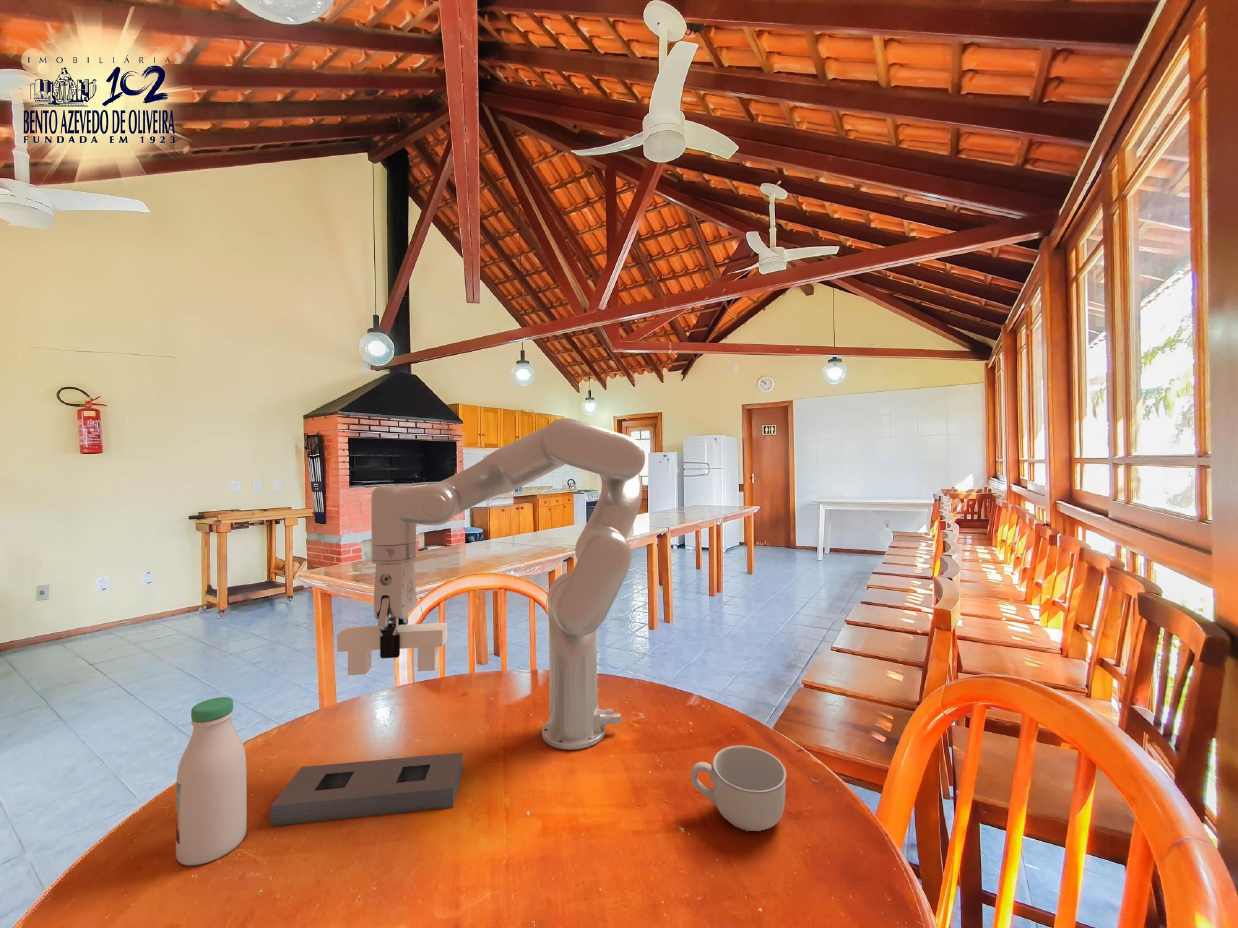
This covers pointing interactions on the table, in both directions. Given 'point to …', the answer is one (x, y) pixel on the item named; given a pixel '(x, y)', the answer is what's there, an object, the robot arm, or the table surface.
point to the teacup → (745, 786)
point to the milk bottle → (211, 786)
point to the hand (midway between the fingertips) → (394, 651)
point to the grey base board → (369, 789)
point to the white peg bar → (411, 636)
